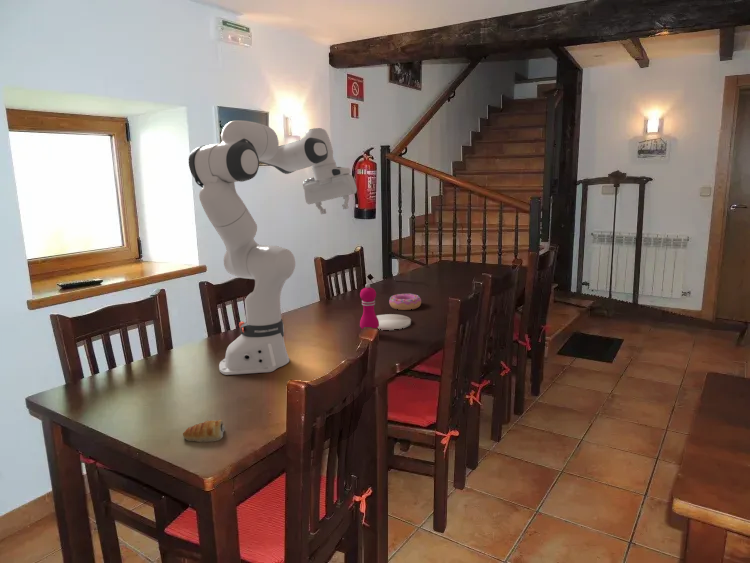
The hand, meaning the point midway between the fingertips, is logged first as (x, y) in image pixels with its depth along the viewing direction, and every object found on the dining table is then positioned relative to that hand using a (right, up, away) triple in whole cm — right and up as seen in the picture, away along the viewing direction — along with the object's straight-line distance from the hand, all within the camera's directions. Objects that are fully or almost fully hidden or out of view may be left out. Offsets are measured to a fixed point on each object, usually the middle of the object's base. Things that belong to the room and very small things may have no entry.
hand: (334, 211), depth 197 cm
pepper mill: (+13, -46, +4) cm, 48 cm away
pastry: (-25, -63, -69) cm, 97 cm away
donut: (+29, -38, +43) cm, 64 cm away
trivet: (+20, -43, +18) cm, 51 cm away
